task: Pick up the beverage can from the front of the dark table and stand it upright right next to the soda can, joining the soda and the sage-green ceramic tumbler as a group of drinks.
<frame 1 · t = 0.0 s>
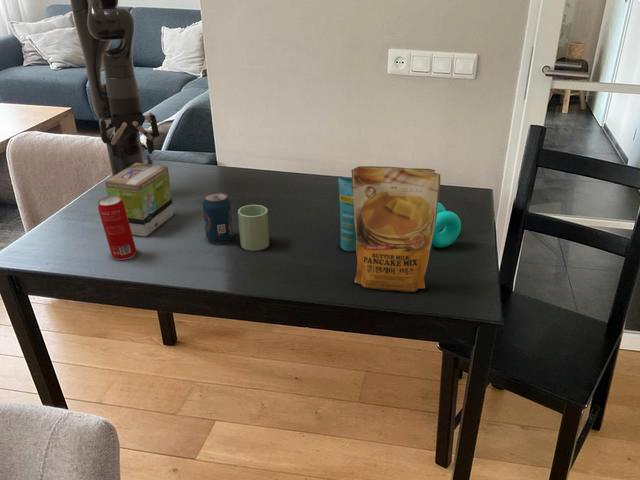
hand: (133, 155, 157), 17 cm above the table, tool pointing down, fingers open, 8 cm apart
tumbler: (255, 244, 152), on the table
donuts: (434, 241, 156), on the table
tea box: (145, 224, 160), on the table
soda can: (220, 239, 154), on the table
beverage can: (123, 256, 144), on the table
tube: (350, 248, 152), on the table
pancake mix bag: (389, 284, 137), on the table
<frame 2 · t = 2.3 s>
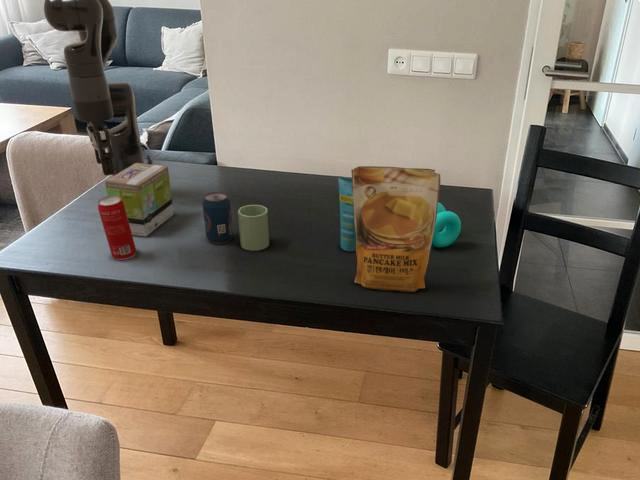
hand: (105, 168, 133), 23 cm above the table, tool pointing down, fingers open, 8 cm apart
nothing on the table moved.
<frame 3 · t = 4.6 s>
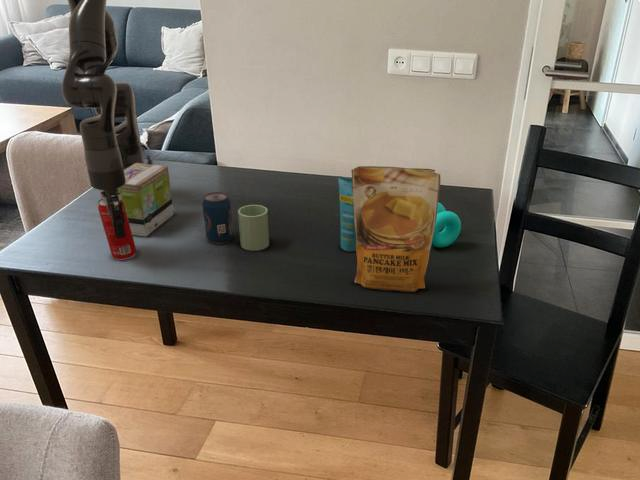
hand: (118, 231, 141), 7 cm above the table, tool pointing down, fingers closed on beverage can, 5 cm apart
beverage can: (123, 256, 144), on the table, touching gripper
everything else where it was.
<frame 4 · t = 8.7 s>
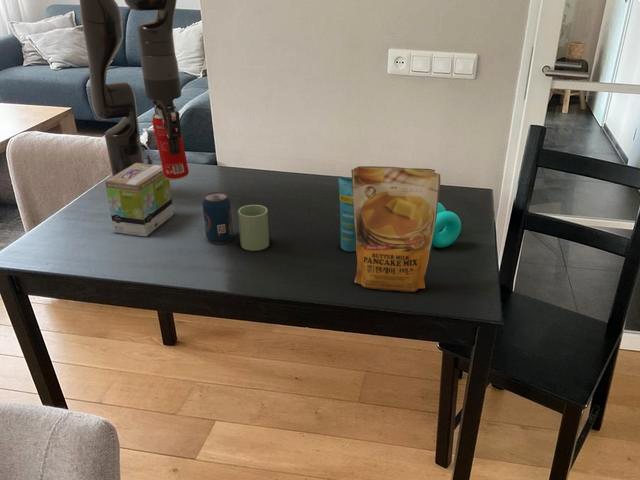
hand: (171, 149, 136), 26 cm above the table, tool pointing down, fingers closed on beverage can, 5 cm apart
beverage can: (175, 177, 139), point 19 cm above the table, touching gripper
everything else where it was.
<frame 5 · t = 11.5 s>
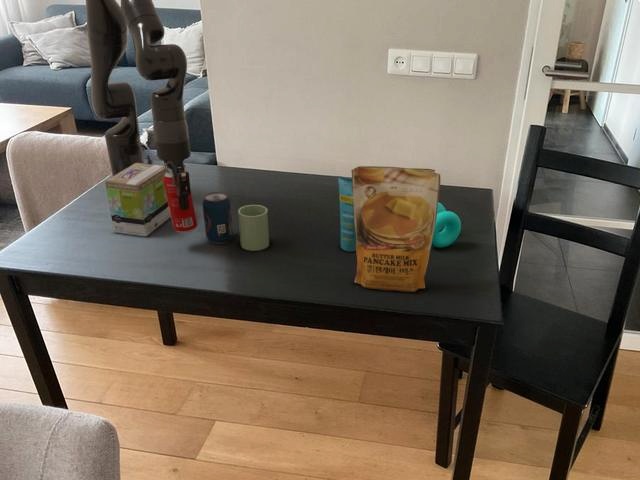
hand: (181, 204, 143), 12 cm above the table, tool pointing down, fingers closed on beverage can, 5 cm apart
beverage can: (184, 229, 146), point 5 cm above the table, touching gripper
everything else where it was.
when the fingers open (7 cm above the table, at t = 13.3 s): beverage can stays where it is, on the table.
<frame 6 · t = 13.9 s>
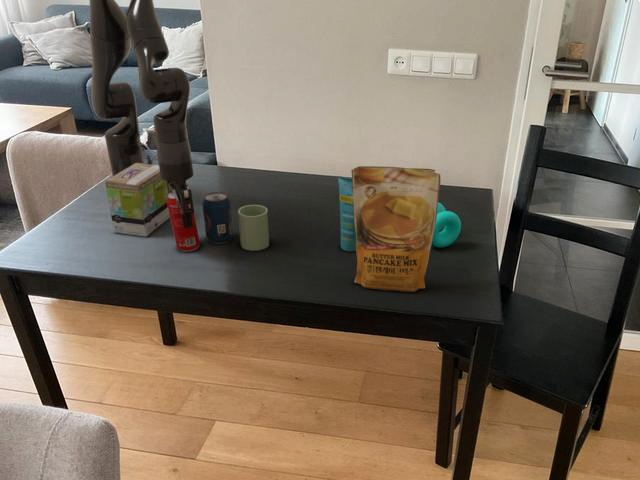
hand: (183, 220, 145), 8 cm above the table, tool pointing down, fingers open, 8 cm apart
beverage can: (187, 248, 149), on the table
everything else where it was.
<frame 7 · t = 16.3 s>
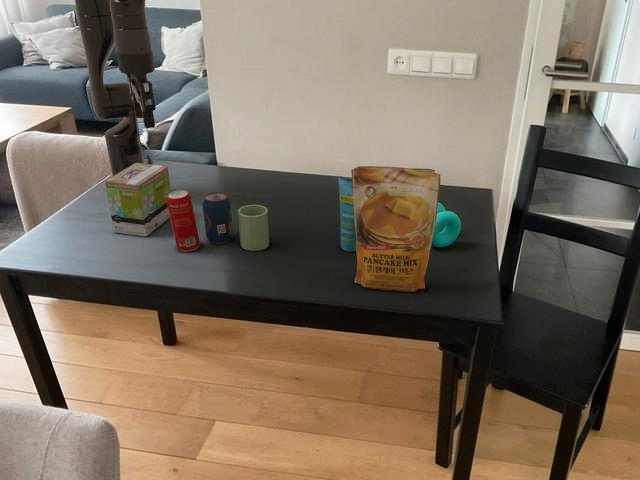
hand: (145, 122, 136), 31 cm above the table, tool pointing down, fingers open, 8 cm apart
nothing on the table moved.
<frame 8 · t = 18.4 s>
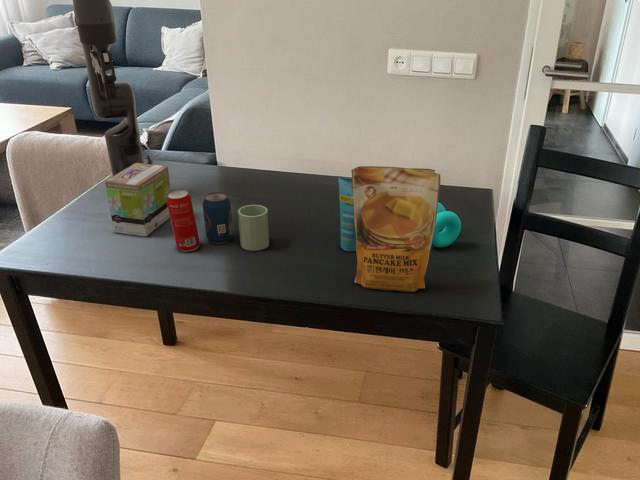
hand: (108, 95, 137), 36 cm above the table, tool pointing down, fingers open, 8 cm apart
nothing on the table moved.
at the end: beverage can 9.0 cm from the soda can (horizontally); beverage can tilted 0°; soda can moved 0.2 cm from its start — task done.
